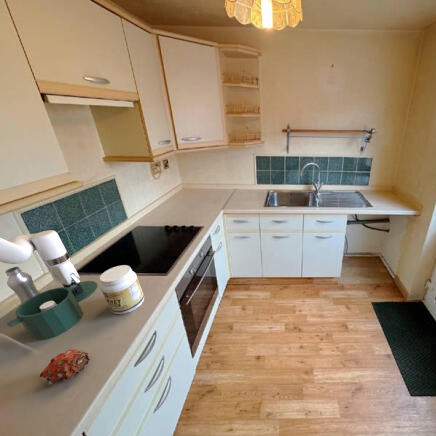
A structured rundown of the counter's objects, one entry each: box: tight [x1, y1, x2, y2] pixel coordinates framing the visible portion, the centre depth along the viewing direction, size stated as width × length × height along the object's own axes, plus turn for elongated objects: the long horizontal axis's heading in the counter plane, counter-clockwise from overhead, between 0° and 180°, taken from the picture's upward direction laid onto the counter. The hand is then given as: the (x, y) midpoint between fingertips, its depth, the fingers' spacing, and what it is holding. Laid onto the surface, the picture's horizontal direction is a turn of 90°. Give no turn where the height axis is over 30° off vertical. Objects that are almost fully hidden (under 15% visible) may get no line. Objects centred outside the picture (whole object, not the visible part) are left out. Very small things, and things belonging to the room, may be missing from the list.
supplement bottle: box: [40, 301, 57, 312], centre depth 87 cm, size 5×5×10 cm
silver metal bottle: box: [4, 266, 41, 305], centre depth 93 cm, size 6×7×20 cm
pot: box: [6, 284, 84, 341], centre depth 87 cm, size 15×20×12 cm
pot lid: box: [64, 280, 99, 303], centre depth 103 cm, size 16×16×7 cm
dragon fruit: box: [39, 349, 91, 386], centre depth 71 cm, size 8×8×12 cm
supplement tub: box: [99, 264, 145, 315], centre depth 94 cm, size 12×12×17 cm
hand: (75, 291), depth 103 cm, fingers closed on pot lid, 4 cm apart
